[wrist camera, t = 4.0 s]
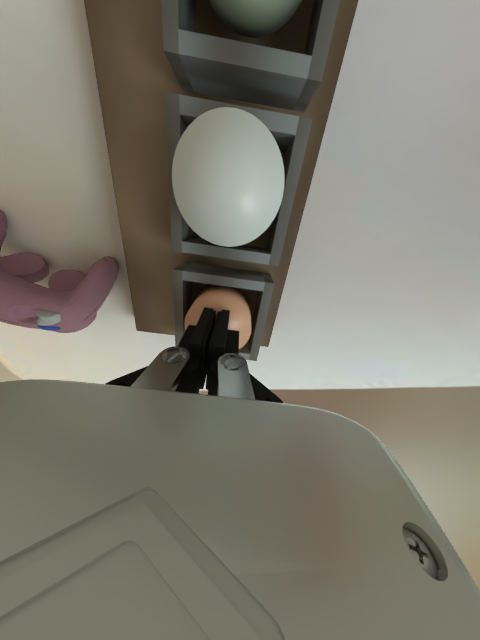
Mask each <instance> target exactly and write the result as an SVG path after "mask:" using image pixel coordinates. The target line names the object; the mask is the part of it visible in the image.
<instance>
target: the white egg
mask: <svg viewBox="0 0 480 640" xmlns="http://www.w3.org/2000/svg"><path fill="white" fill-rule="evenodd" d="M284 182H285V175H284V165H283V160H282V156H281V153H280V150H279V147H278V145H277V143H276V140H275V139H274V137H273V135H272V134H271V132H270V131H269V130H268V128H267V127H266V126H265V125H264V124H263V123H262V122H261V121H260V120H259V119H258V118H256V117H255V116H254V115H252V114H250V113H248V112H246V111H244V110H241V109H238V108H232V107H221V108H216V109H212V110H209V111H207V112H205V113H203V114H201V115H200V116H199V117H197V118H196V119H195V120H194V121H193V122H192V123H191V124H190V125H189V126H188V127H187V129H186V130H185V131H184V133H183V134H182V136H181V138H180V140H179V142H178V145H177V148H176V150H175V154H174V158H173V165H172V185H173V191H174V196H175V200H176V203H177V206H178V208H179V210H180V212H181V214H182V216H183V218H184V219H185V221H186V222H187V224H188V225H189V226H190V227H191V228H192V230H193V231H194V232H195V233H197V234H198V235H199V236H200V237H202V238H203V239H205V240H207V241H208V242H210V243H213V244H216V245H220V246H226V247H234V246H240V245H244V244H247V243H249V242H251V241H253V240H255V239H256V238H257V237H259V236H260V235H261V234H262V233H264V232H265V231H266V229H267V228H268V227H269V226H270V225H271V223H272V222H273V220H274V218H275V216H276V215H277V213H278V210H279V208H280V205H281V201H282V198H283V192H284Z"/></svg>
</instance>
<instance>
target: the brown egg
mask: <svg viewBox="0 0 480 640" xmlns="http://www.w3.org/2000/svg"><path fill="white" fill-rule="evenodd" d="M204 307H207V308H213V311H216V317H215V321H216V318H217V314H218V311H222V310H230V315H229V323H228V330H236V331H239V349H240V348H242V347H243V346H244V345H245V344H246V343H247V341H248V340H249V337H250V335H251V313H250V303H249V300H248V298H247V296H246V295H245V293H244V292H243V291H242V290H241V289H240V288H235V287H228V286H220V285H213V284H210V285H208V286H206V287H205V288H204V289H202V290H201V292H200V293H199V294H198V296H197V298H196V299H195V301H194V303H193V304H192V306H191V308H190V309H189V311H188V313H187V315H186V318H185V330H186V329H187V327H188V325H195V326H196V325H197V322H198V320H199V318H200V316H201V313H202V311H203V309H204Z"/></svg>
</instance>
